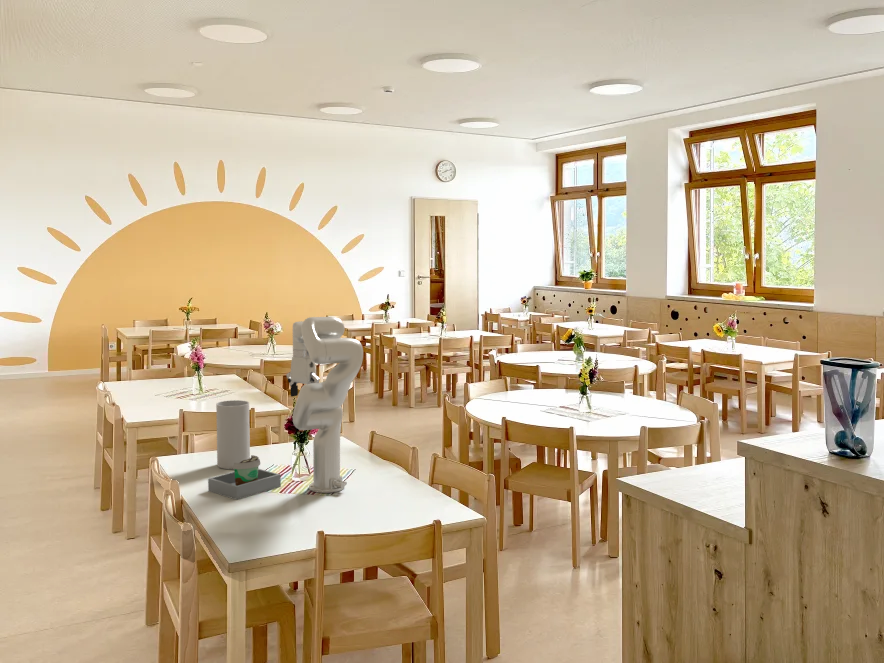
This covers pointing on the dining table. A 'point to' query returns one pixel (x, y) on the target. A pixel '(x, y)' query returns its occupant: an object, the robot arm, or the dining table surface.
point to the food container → (246, 470)
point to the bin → (229, 489)
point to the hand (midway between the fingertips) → (302, 397)
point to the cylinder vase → (232, 433)
